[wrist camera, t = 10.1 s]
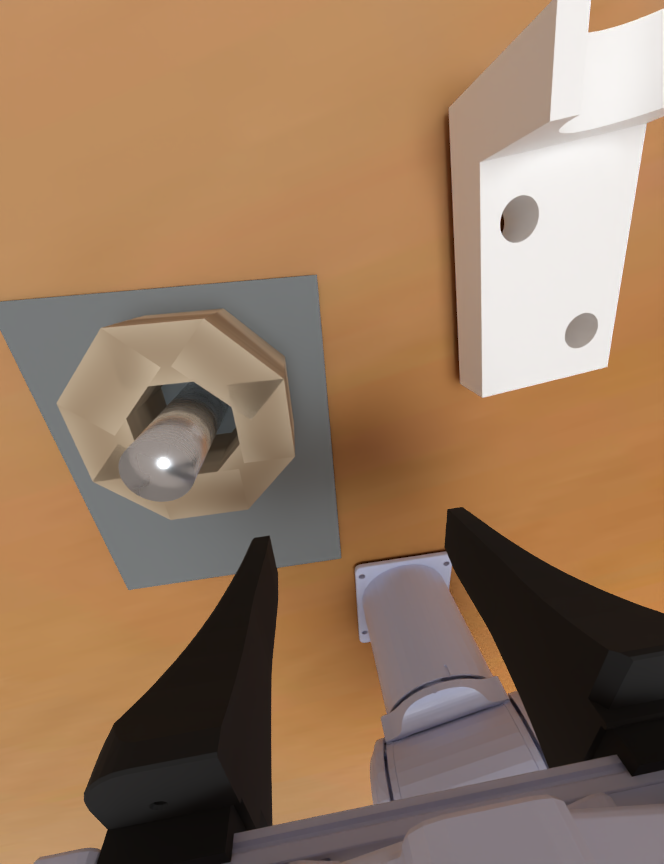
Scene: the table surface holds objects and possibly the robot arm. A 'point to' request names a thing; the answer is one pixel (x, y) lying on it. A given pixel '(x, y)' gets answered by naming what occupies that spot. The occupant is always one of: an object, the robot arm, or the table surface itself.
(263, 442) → the ring
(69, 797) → the table surface
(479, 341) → the bracket
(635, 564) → the table surface
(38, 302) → the mat
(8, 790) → the table surface
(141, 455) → the peg
